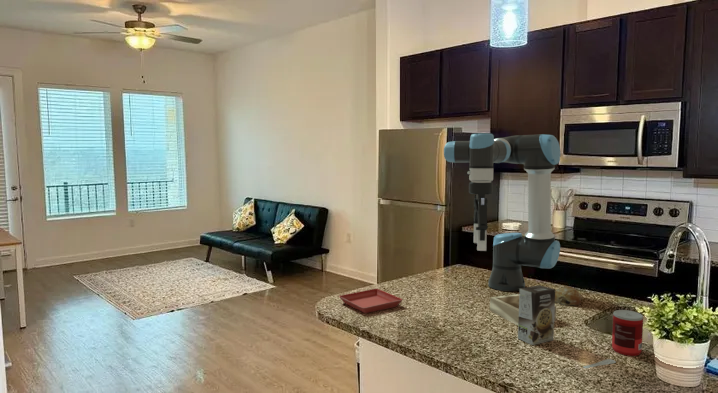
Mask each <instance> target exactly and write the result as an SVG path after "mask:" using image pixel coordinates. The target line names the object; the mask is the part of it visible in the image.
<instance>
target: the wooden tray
mask: <svg viewBox="0 0 718 393" xmlns="http://www.w3.org/2000/svg"><path fill="white" fill-rule="evenodd" d="M519 294H520V293H519ZM519 294H517V293H515V294H509V295H508V294H507V295H500V296H499V295H498V296H491V297H489V311H490V312H491V313H493V314H495V315H497V316H499V317H501V318H503V319H504V320H507V321H508V322H511V323H513V324H514V325H517V326H518V321H519ZM554 322H557V306H556V305H555V310H554Z"/></svg>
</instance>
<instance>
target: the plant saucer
mask: <svg viewBox="0 0 718 393" xmlns="http://www.w3.org/2000/svg"><path fill="white" fill-rule="evenodd" d="M338 297H339V298H340V300H341V301H342V302H343V303H344V304H345V305H347V306H349V307H351V308H354V309H355V310H357V311H358V312H359V311H360V312H361V313H363V314H367V313H373V312H378V311H382V310H386V309H393V308H396V307H398V306H399V305H400V304H401V303H402V301H403V299H404V298H401V297H398V296H396V295H394V294H391V293H389V292H386V291H384V290H381V289H379V288H372V289H366V290H362V291H356V292H352V293H346V294H342V295H341V294H340V295H339V296H338Z"/></svg>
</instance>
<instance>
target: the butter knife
mask: <svg viewBox="0 0 718 393" xmlns="http://www.w3.org/2000/svg"><path fill="white" fill-rule="evenodd" d="M612 364H616V361H615V360H614V359H611V358H607V359H603V360H601V361H597V362H596V363H592V364H588V365H584V366H582V368H584V369H586V368H587V369H590V367H591V368H595V367H599V366H605V365H612Z"/></svg>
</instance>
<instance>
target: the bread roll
mask: <svg viewBox="0 0 718 393" xmlns="http://www.w3.org/2000/svg"><path fill="white" fill-rule="evenodd" d="M555 303H556V304H559V305H563V306H573V307H575V306H579V305H581V304H582V295H581V293H580V292H579V291H578V290H577V289H576V288H574V287H572V286H569V285H566V286H561V287H559V288H557V289H555Z"/></svg>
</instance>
